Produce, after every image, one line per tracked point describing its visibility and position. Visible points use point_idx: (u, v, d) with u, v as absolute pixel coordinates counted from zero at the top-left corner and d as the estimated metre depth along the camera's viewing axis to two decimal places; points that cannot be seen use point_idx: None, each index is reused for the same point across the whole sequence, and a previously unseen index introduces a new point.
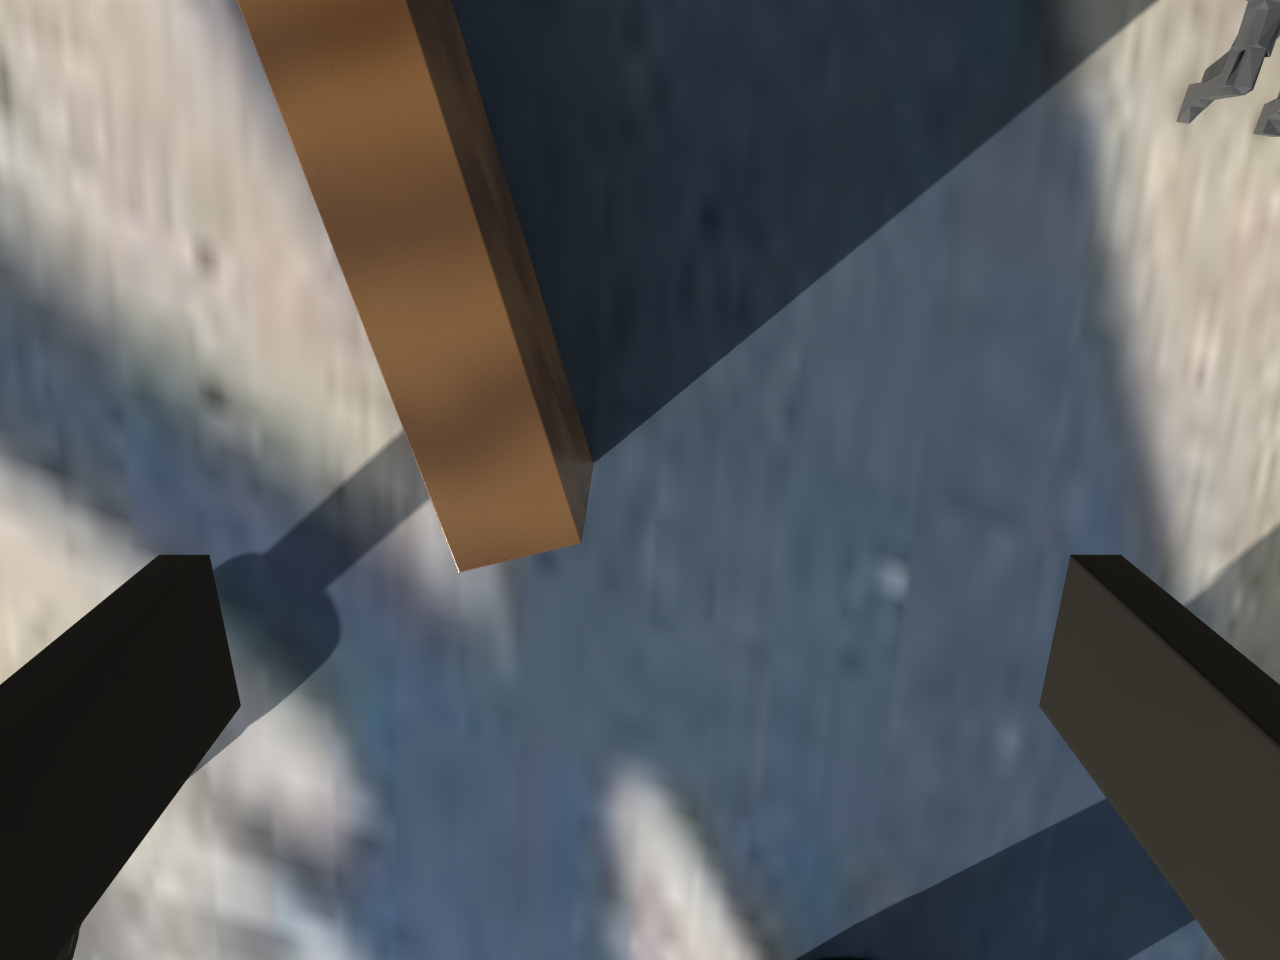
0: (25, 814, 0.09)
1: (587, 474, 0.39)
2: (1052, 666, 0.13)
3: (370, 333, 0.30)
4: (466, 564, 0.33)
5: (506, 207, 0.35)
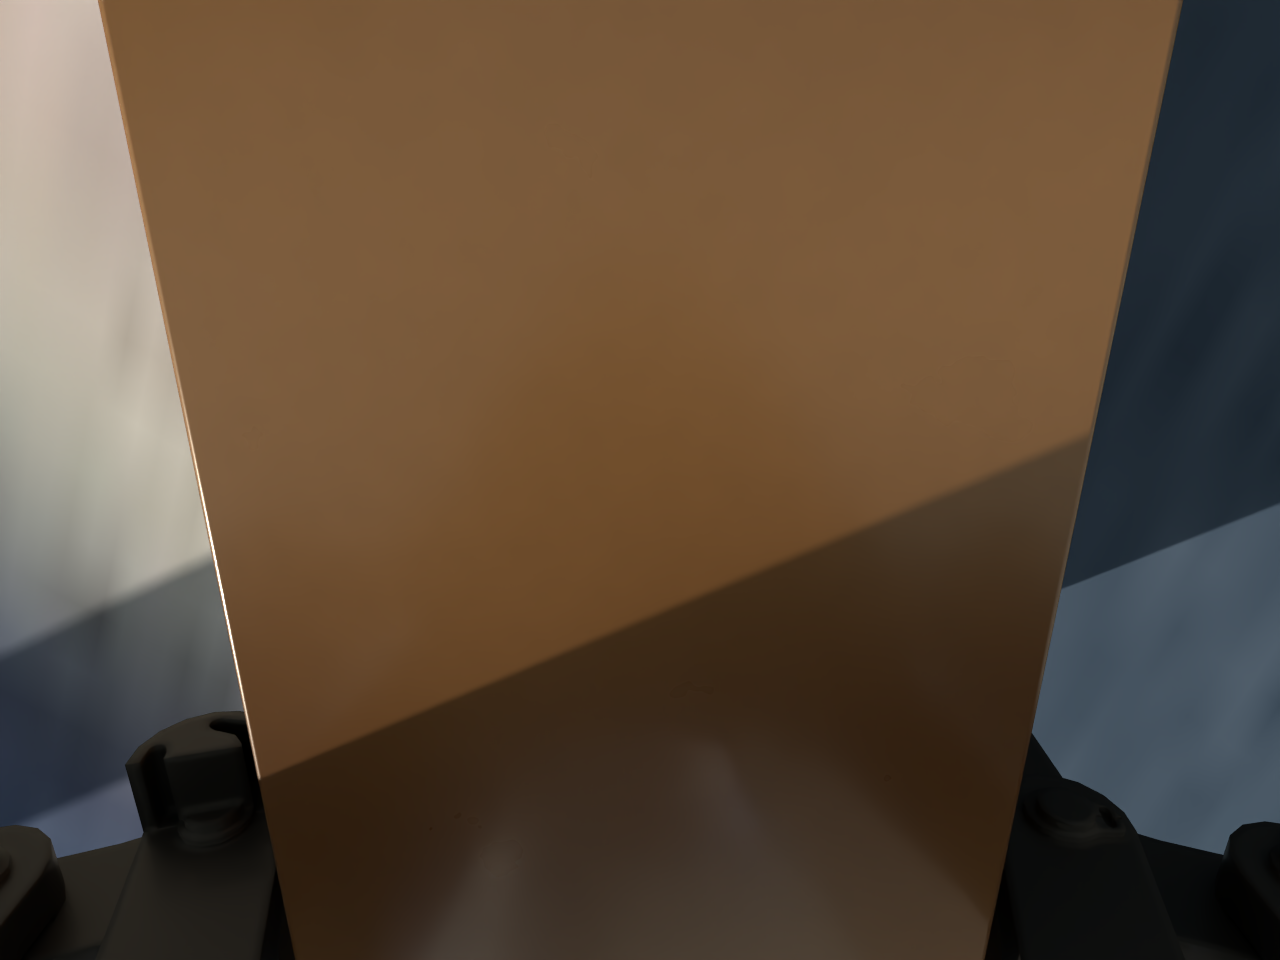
0: None
1: None
2: None
3: (159, 163, 0.04)
4: None
5: None
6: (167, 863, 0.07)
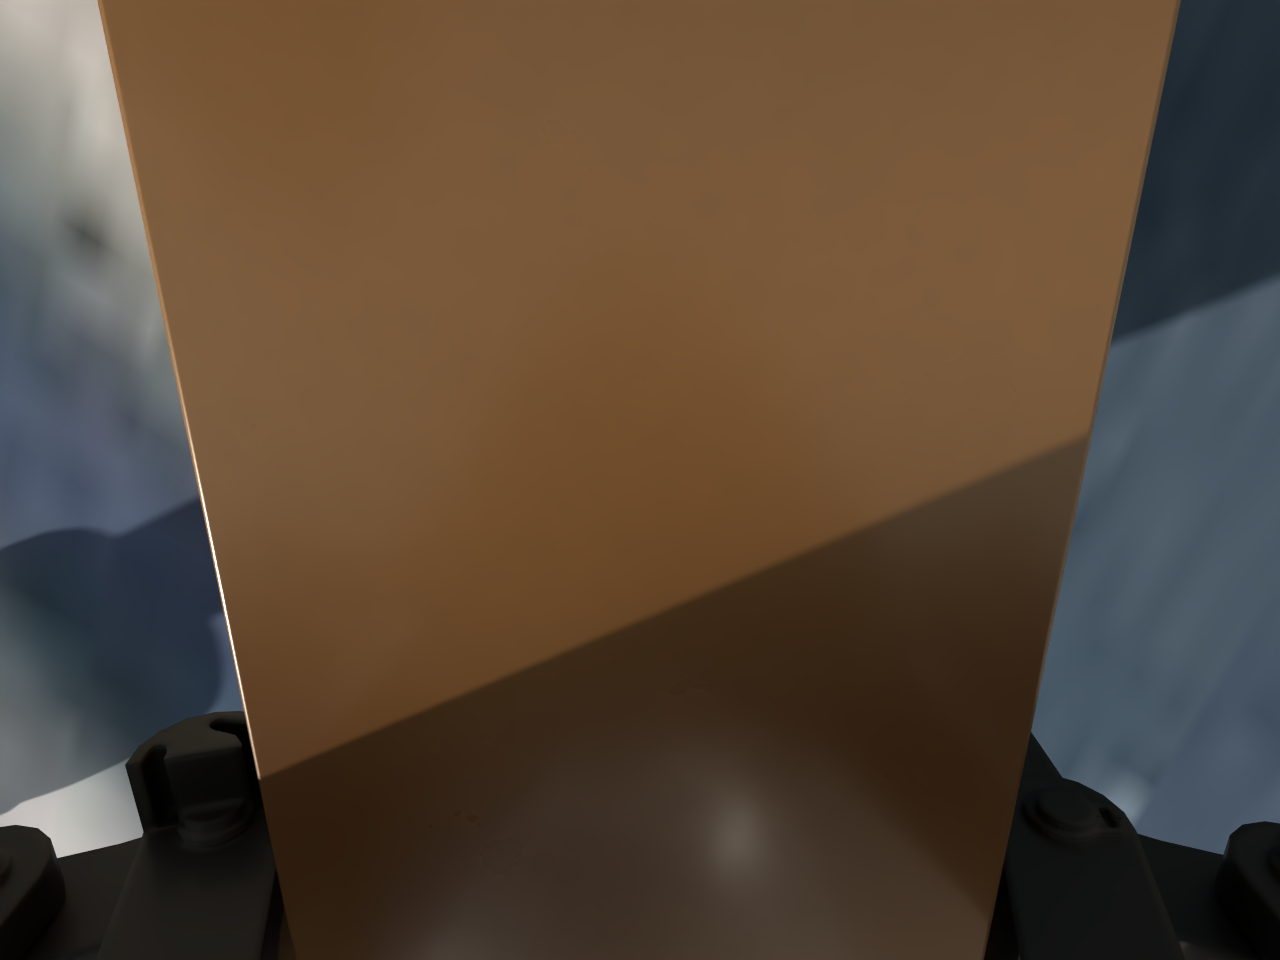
0: None
1: None
2: None
3: (158, 160, 0.04)
4: None
5: None
6: (167, 864, 0.07)
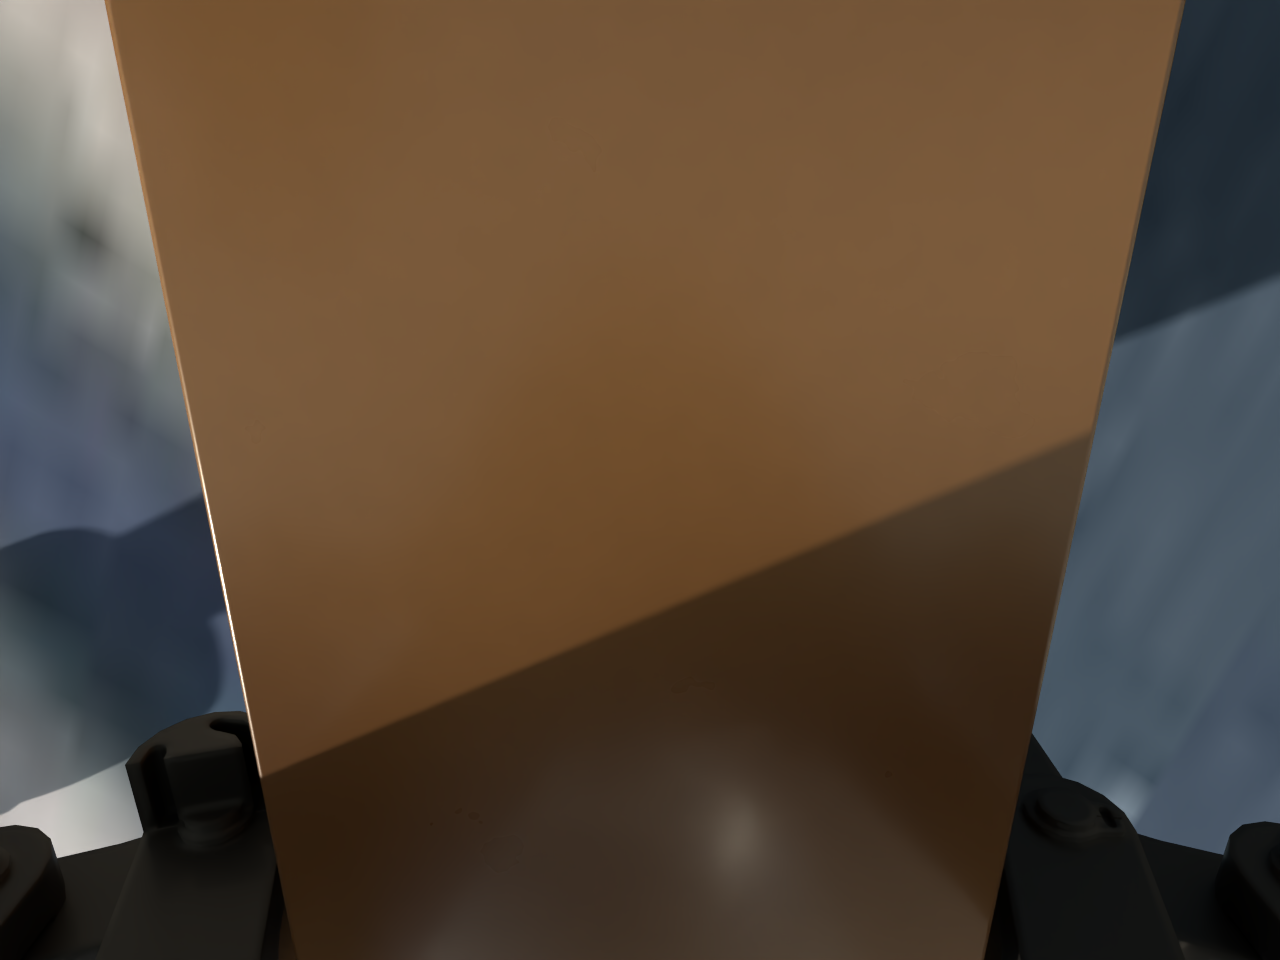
0: None
1: None
2: None
3: (162, 156, 0.04)
4: None
5: None
6: (167, 863, 0.07)
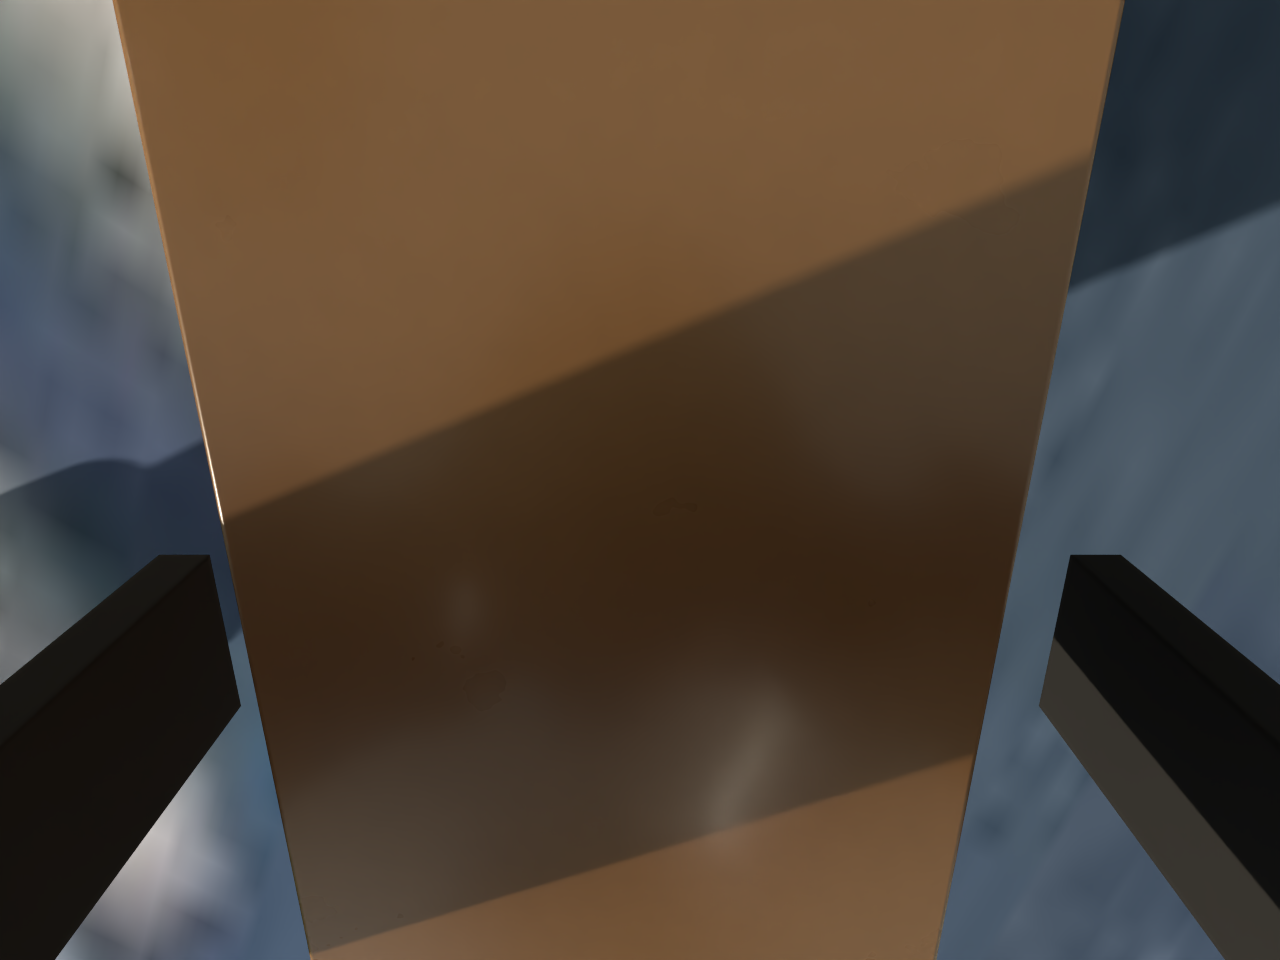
0: (25, 814, 0.09)
1: None
2: (1053, 666, 0.13)
3: None
4: None
5: None
6: None
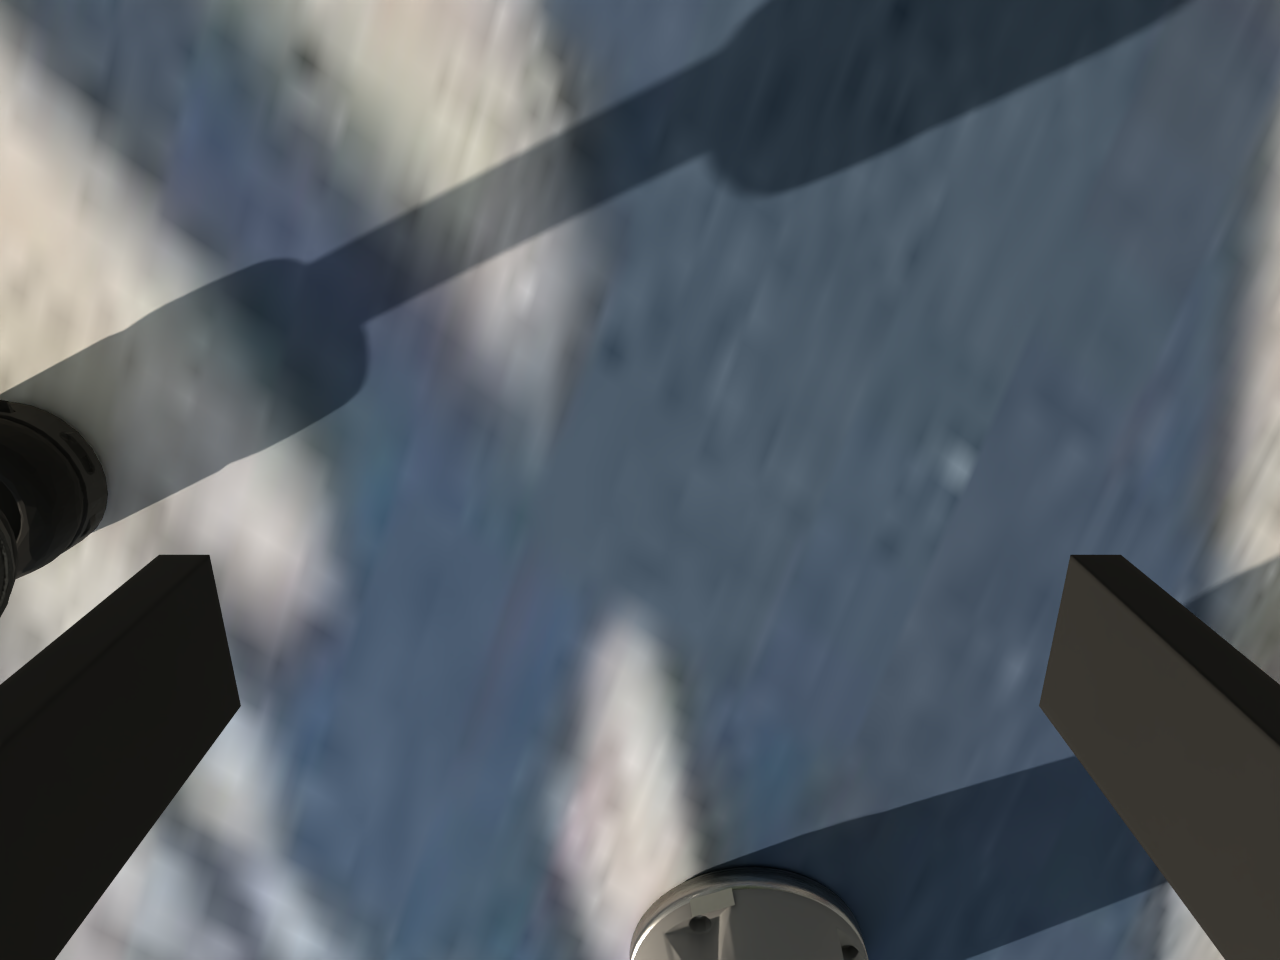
0: (25, 814, 0.09)
1: None
2: (1052, 666, 0.13)
3: None
4: None
5: None
6: None
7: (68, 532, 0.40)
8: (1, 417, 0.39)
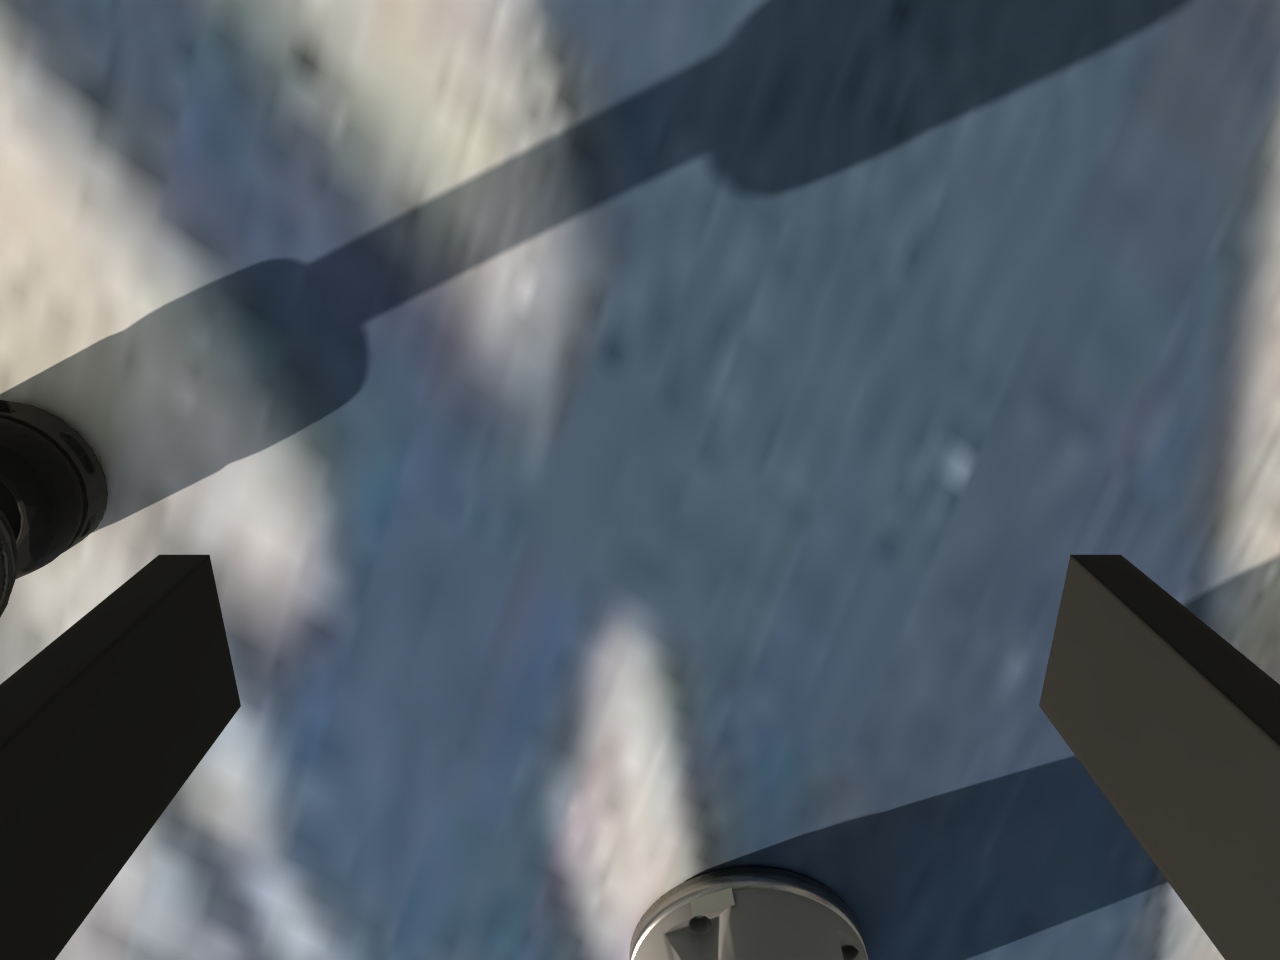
0: (25, 814, 0.09)
1: None
2: (1052, 666, 0.13)
3: None
4: None
5: None
6: None
7: (68, 532, 0.40)
8: (1, 417, 0.39)
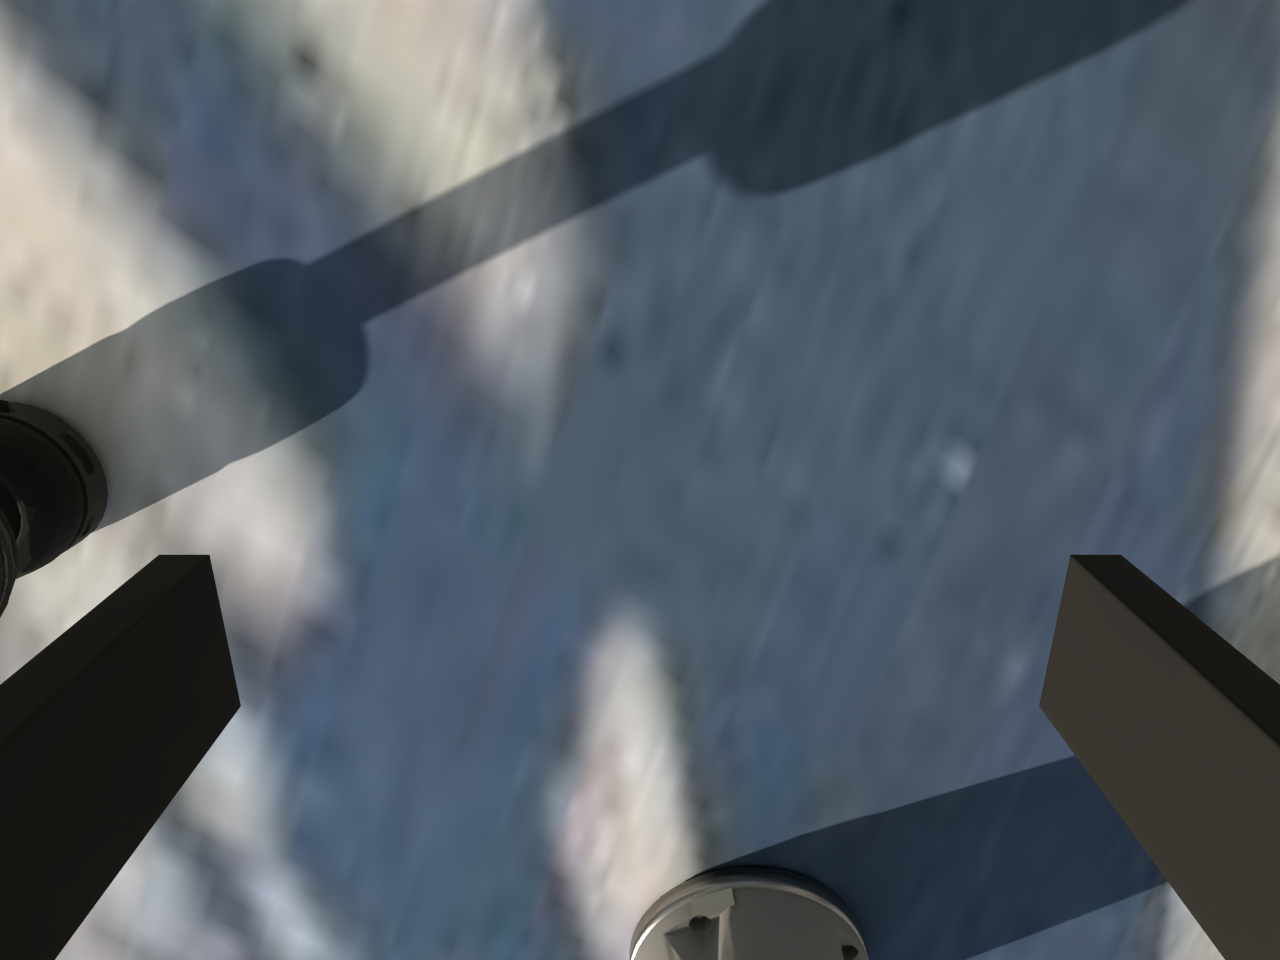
0: (25, 814, 0.09)
1: None
2: (1052, 666, 0.13)
3: None
4: None
5: None
6: None
7: (68, 532, 0.40)
8: (1, 417, 0.39)
